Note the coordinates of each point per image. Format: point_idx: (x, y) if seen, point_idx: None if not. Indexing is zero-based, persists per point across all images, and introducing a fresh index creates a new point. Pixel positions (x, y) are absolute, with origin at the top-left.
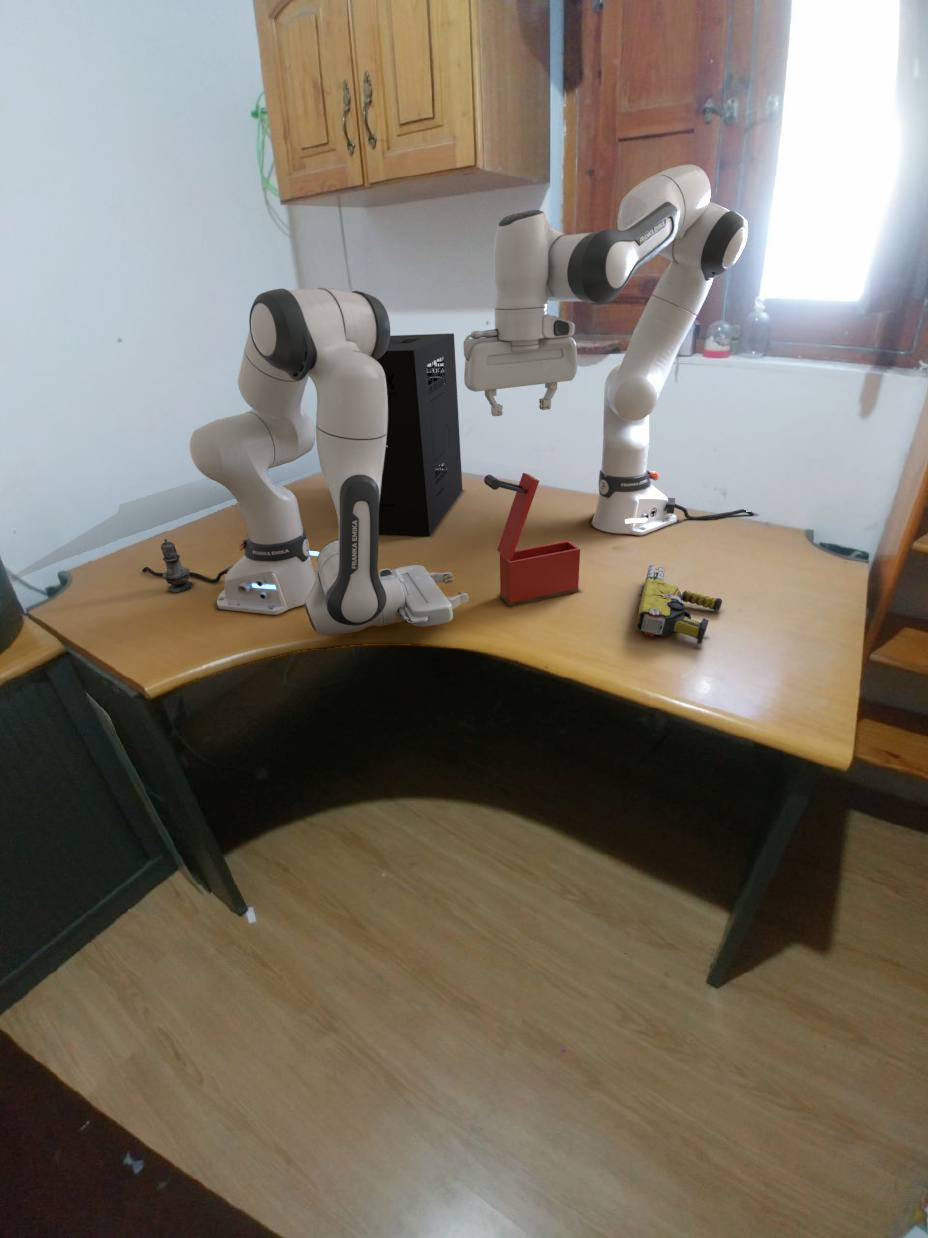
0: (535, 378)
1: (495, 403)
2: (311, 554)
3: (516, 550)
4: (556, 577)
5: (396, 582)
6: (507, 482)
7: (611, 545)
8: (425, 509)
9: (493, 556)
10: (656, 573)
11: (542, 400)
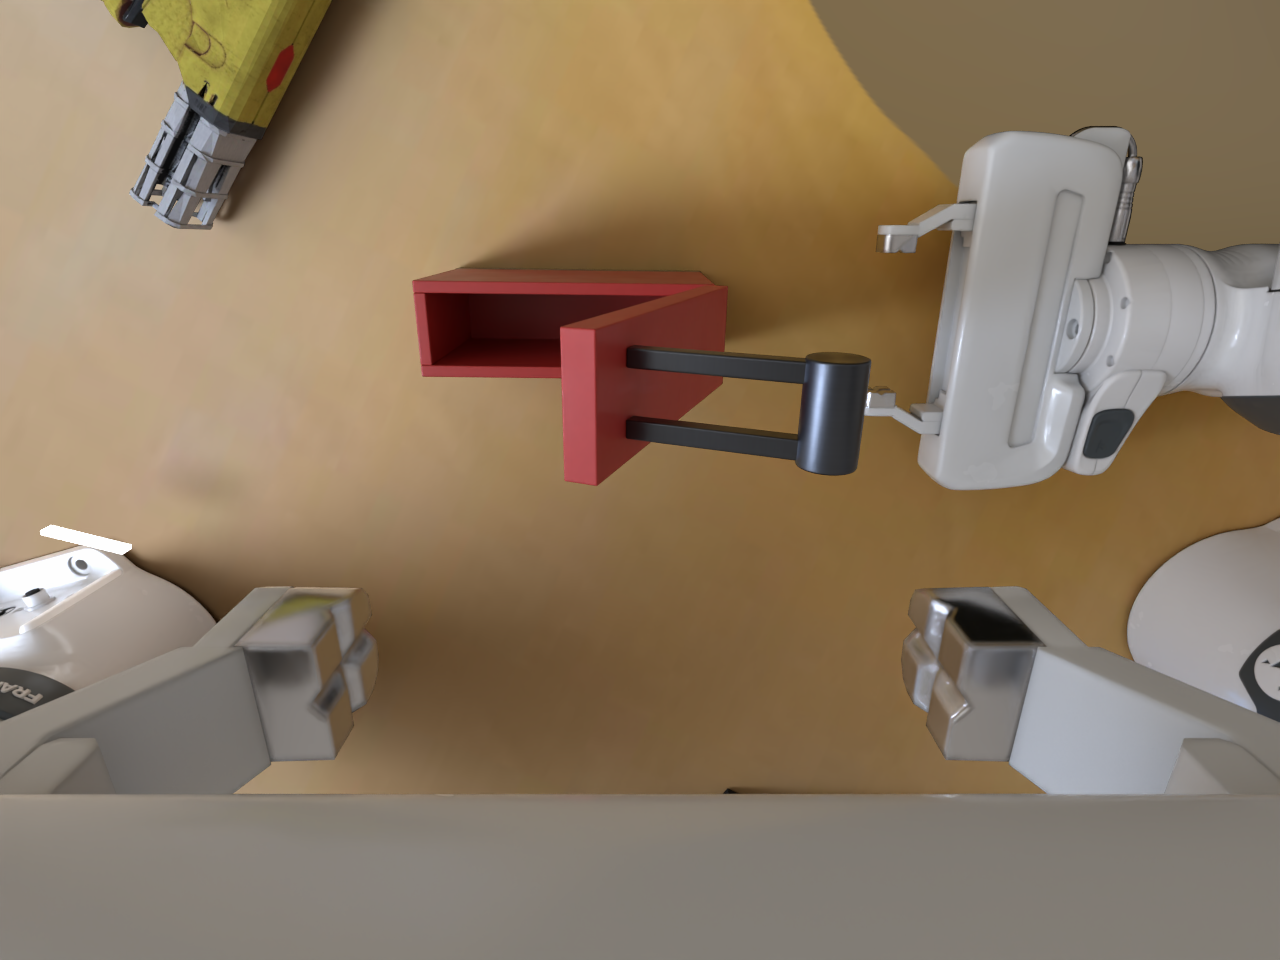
0: (339, 888)
1: (1102, 667)
2: None
3: None
4: (528, 274)
5: (1142, 310)
6: (707, 447)
7: (225, 519)
8: None
9: (607, 598)
10: (172, 174)
11: (323, 671)
